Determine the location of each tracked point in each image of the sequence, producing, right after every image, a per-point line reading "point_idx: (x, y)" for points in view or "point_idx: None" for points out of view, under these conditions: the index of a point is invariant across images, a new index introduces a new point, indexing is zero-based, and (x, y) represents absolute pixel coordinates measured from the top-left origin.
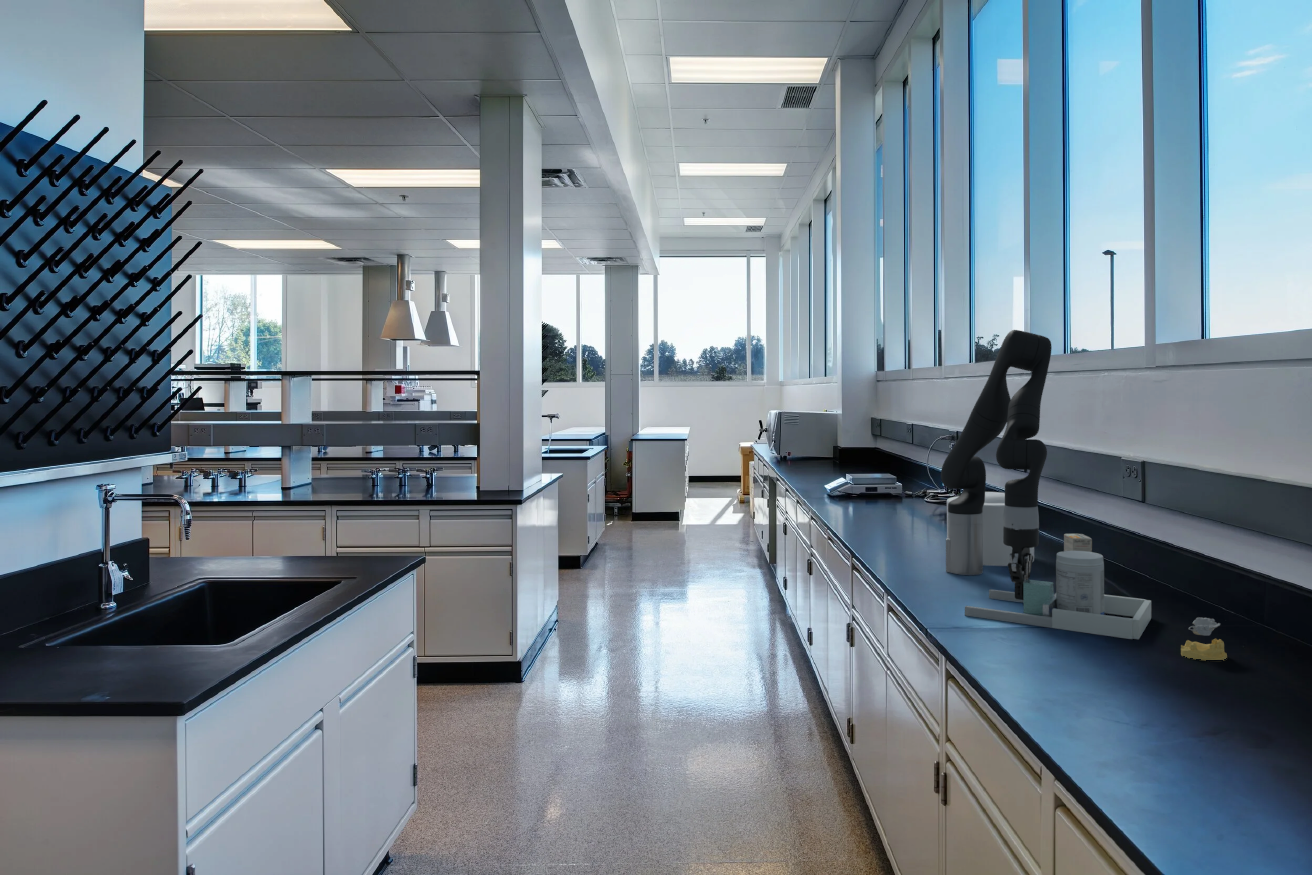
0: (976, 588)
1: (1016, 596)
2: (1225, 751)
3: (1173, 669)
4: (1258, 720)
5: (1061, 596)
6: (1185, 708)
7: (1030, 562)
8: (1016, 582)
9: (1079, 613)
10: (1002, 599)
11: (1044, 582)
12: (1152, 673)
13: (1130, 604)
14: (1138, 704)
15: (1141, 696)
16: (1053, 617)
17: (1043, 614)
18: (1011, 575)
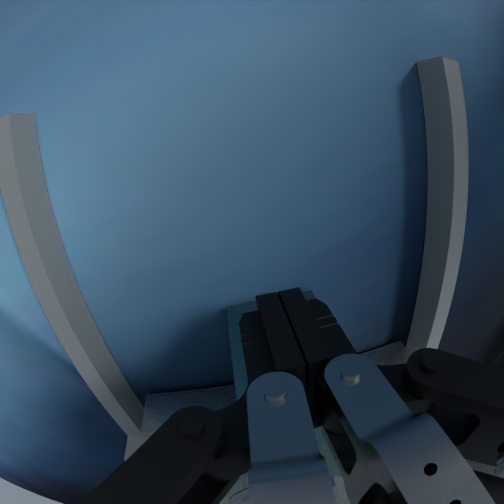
0: (483, 19)
1: (242, 318)
2: (9, 476)
3: None
4: (63, 500)
5: (237, 482)
6: (33, 481)
7: (489, 463)
8: (222, 416)
9: None
10: (426, 121)
11: (334, 464)
12: (74, 484)
13: None
14: (5, 462)
15: (18, 467)
16: (129, 440)
17: (144, 417)
18: (116, 480)
